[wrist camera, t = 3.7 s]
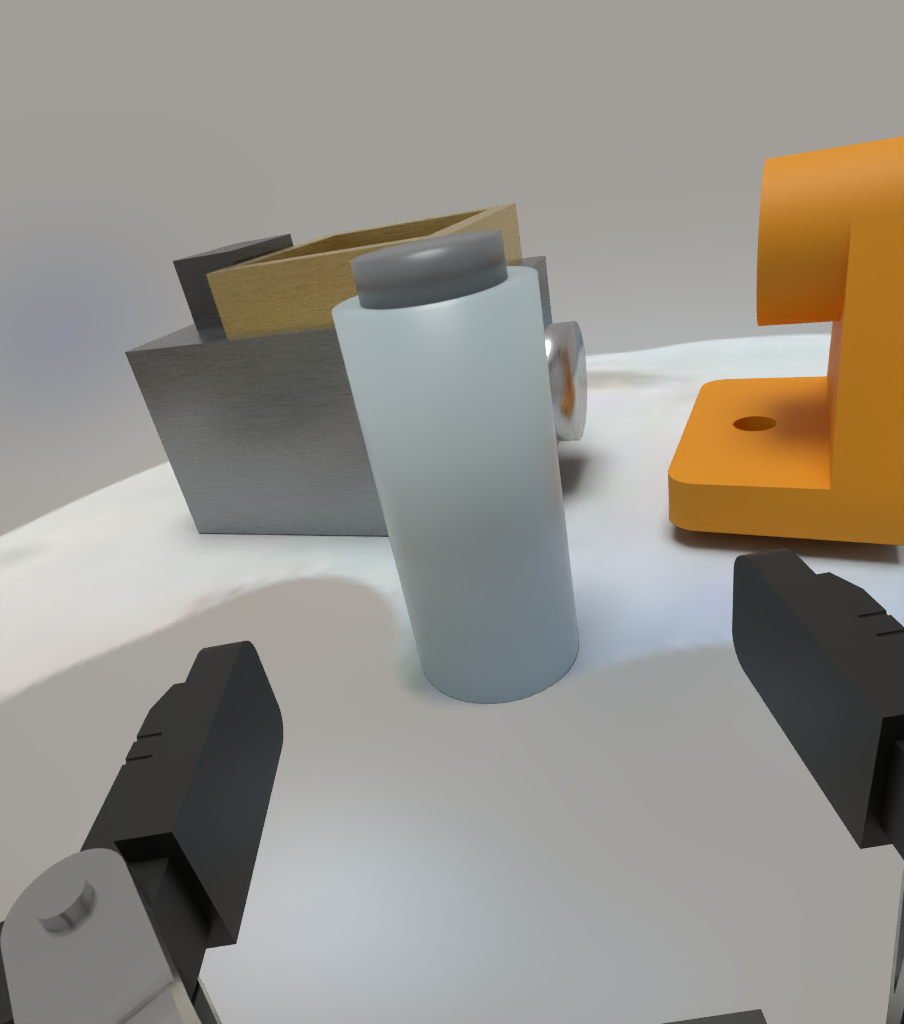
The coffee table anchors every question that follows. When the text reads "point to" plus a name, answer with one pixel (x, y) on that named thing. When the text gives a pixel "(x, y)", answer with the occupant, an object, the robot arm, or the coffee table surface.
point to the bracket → (813, 400)
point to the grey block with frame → (298, 380)
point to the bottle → (465, 459)
